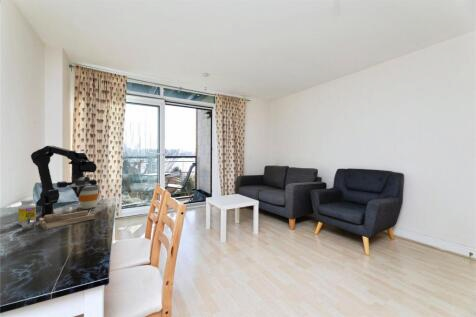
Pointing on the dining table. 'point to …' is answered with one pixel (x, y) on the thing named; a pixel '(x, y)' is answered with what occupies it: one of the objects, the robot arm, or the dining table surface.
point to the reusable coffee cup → (88, 196)
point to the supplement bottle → (27, 210)
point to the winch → (27, 224)
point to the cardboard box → (53, 218)
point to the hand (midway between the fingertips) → (77, 197)
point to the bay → (68, 221)
